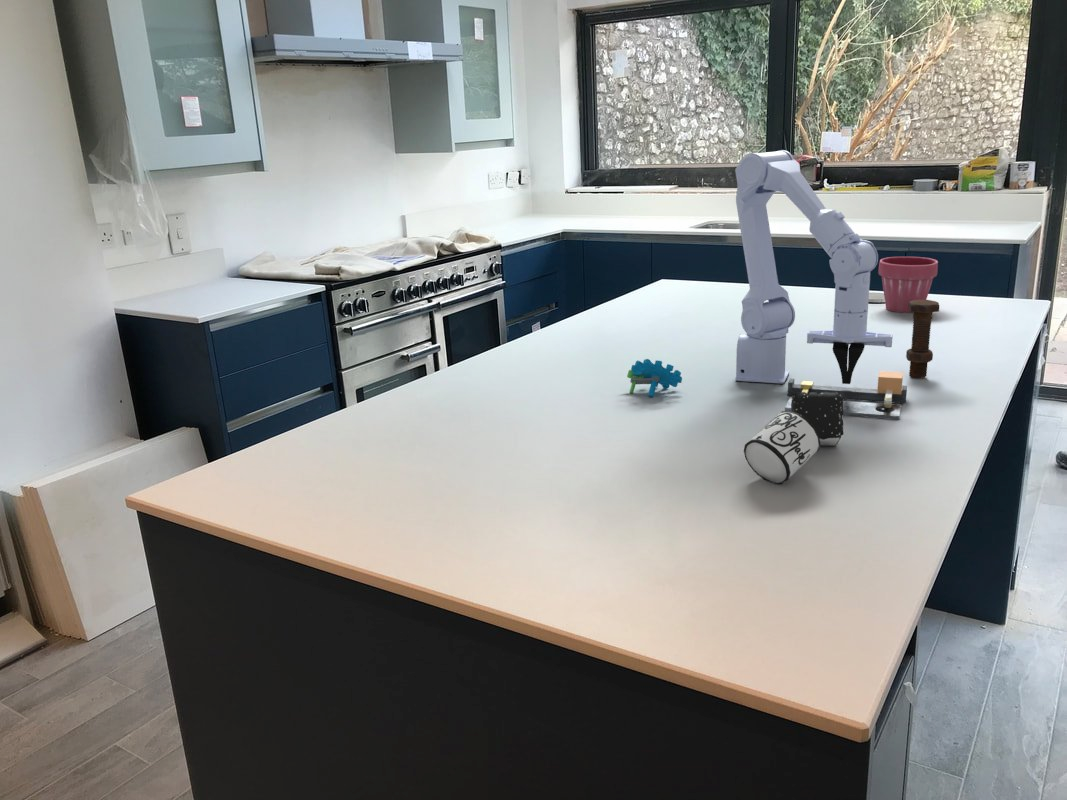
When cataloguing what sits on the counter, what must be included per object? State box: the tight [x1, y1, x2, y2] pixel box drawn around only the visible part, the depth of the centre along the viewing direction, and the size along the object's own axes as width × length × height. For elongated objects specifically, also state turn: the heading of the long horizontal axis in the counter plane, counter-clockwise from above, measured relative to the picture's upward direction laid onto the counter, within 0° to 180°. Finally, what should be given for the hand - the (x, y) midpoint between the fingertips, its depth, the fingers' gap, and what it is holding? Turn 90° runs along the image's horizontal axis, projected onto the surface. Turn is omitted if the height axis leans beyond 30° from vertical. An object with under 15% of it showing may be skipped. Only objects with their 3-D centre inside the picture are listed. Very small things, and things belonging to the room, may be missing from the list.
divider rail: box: [787, 377, 908, 405], centre depth 160 cm, size 21×10×3 cm, turn 67°
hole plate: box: [784, 396, 902, 420], centre depth 156 cm, size 19×6×1 cm, turn 67°
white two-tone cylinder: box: [743, 392, 845, 485], centre depth 133 cm, size 25×10×10 cm, turn 144°
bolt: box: [905, 299, 940, 380], centre depth 170 cm, size 6×5×15 cm
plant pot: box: [878, 256, 939, 313], centre depth 229 cm, size 14×14×13 cm
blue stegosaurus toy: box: [626, 358, 683, 398], centre depth 171 cm, size 11×6×10 cm
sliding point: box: [877, 370, 904, 408], centre depth 156 cm, size 4×10×4 cm, turn 157°
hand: (846, 382), depth 162 cm, fingers closed
